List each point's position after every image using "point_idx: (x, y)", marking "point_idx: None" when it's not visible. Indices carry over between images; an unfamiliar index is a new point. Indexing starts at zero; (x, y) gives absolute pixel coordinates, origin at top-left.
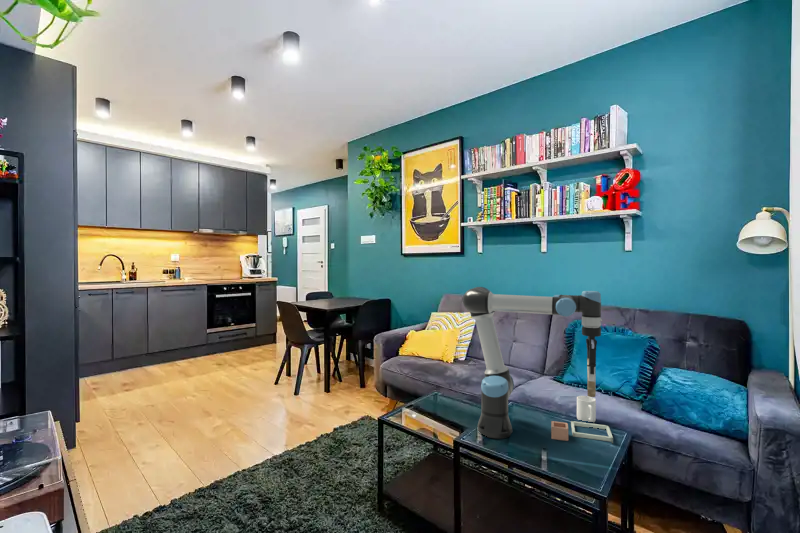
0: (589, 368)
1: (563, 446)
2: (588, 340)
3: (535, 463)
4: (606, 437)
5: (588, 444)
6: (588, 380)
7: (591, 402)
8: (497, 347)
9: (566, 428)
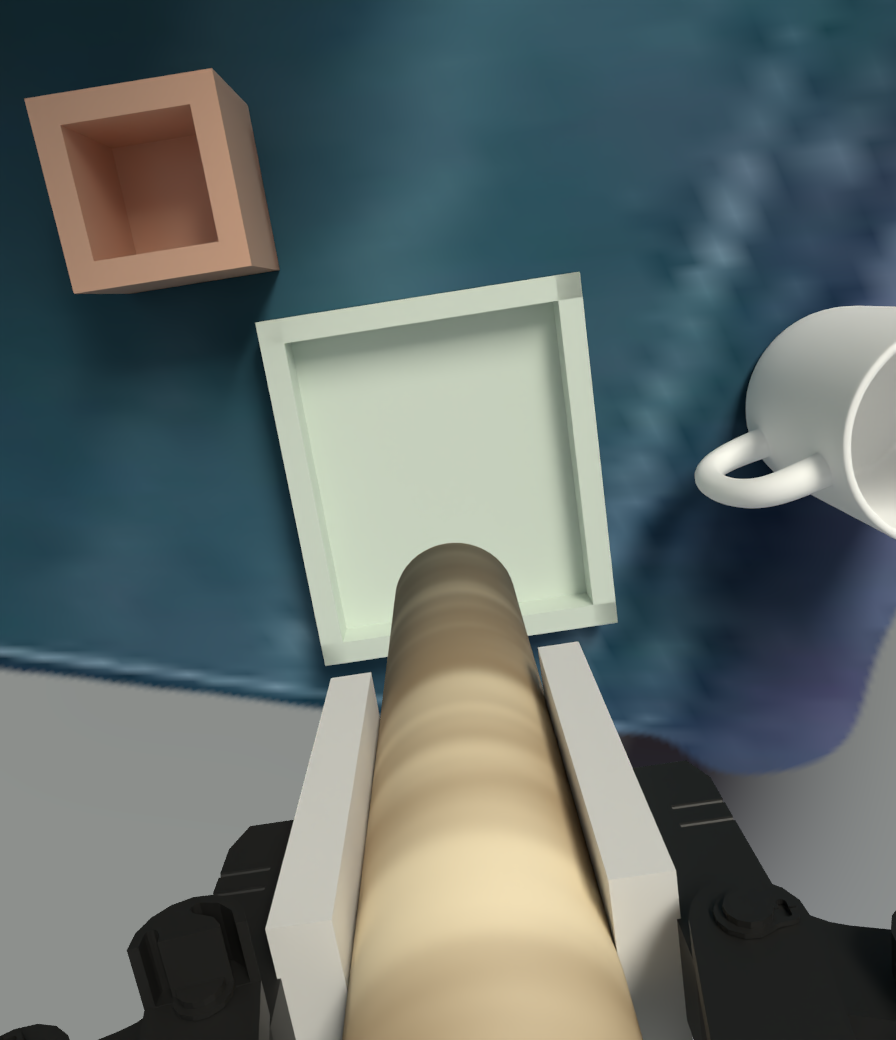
0: (282, 901)
1: (35, 259)
2: None
3: None
4: (315, 615)
5: (211, 462)
6: (333, 684)
7: (854, 503)
8: None
9: (79, 272)
